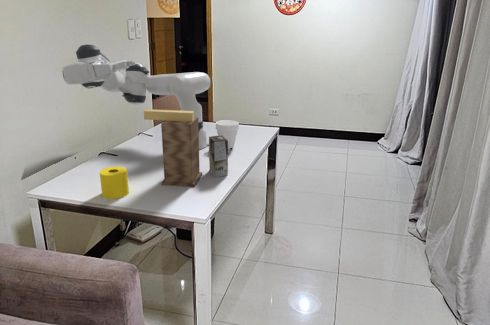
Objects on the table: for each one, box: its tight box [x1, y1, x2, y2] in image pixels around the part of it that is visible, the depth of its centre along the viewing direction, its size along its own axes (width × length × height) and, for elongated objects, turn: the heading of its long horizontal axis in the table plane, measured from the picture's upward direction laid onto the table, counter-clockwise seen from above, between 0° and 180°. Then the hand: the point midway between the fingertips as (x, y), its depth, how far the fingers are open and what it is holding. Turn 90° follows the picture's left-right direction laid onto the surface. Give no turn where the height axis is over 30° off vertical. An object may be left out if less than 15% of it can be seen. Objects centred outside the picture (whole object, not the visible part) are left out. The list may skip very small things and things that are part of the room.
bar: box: [143, 108, 195, 122], centre depth 163 cm, size 20×4×4 cm, turn 83°
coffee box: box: [208, 135, 229, 178], centre depth 177 cm, size 9×6×16 cm
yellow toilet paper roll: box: [99, 166, 130, 200], centre depth 156 cm, size 10×10×9 cm
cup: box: [215, 119, 240, 150], centre depth 214 cm, size 12×12×14 cm
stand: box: [160, 117, 203, 188], centre depth 168 cm, size 14×14×26 cm
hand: (130, 64), depth 167 cm, fingers open, 8 cm apart
